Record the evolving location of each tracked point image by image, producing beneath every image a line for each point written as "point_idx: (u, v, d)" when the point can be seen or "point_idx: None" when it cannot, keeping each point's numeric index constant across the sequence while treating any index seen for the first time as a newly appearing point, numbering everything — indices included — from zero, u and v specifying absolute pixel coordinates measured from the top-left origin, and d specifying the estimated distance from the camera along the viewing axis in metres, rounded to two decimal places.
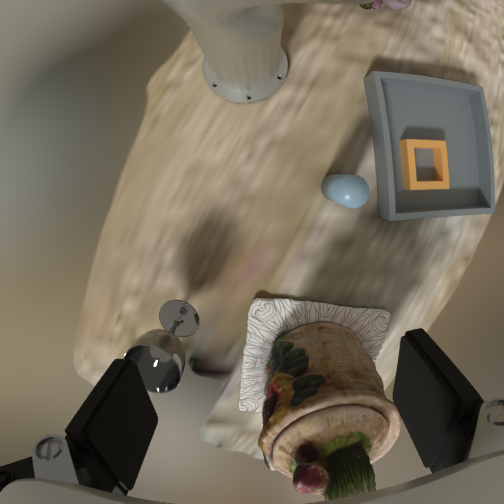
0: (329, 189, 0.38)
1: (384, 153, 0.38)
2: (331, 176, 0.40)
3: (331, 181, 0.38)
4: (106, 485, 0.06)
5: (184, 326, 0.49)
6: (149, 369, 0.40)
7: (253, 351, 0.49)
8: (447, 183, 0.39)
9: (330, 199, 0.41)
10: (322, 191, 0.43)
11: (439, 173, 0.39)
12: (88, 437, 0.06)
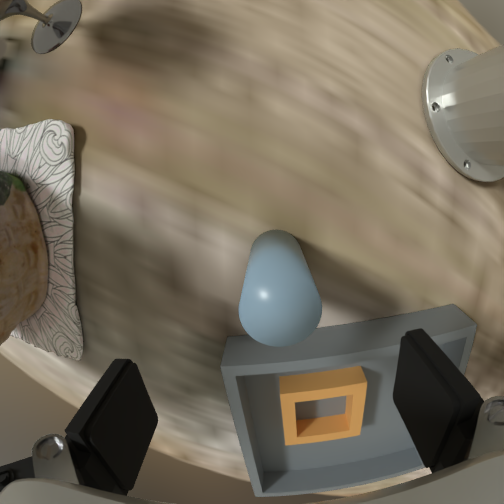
0: (276, 248, 0.18)
1: (346, 351, 0.21)
2: (300, 250, 0.20)
3: (294, 252, 0.18)
4: (106, 485, 0.06)
5: (43, 33, 0.18)
6: None
7: (4, 143, 0.21)
8: (293, 442, 0.25)
9: (253, 249, 0.21)
10: (267, 232, 0.23)
11: (308, 428, 0.26)
12: (88, 437, 0.06)
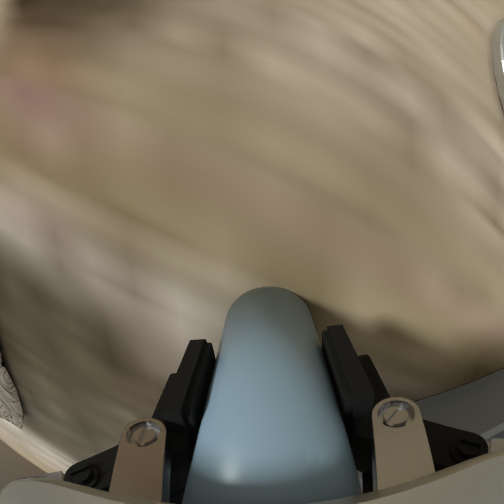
0: (269, 363, 0.08)
1: None
2: (316, 340, 0.10)
3: (308, 369, 0.08)
4: None
5: None
6: None
7: None
8: None
9: (225, 334, 0.11)
10: (253, 293, 0.13)
11: None
12: (186, 415, 0.07)
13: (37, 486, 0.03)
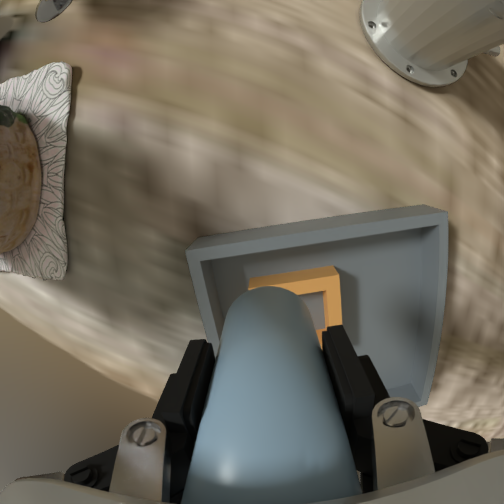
0: (268, 362, 0.08)
1: (308, 230, 0.23)
2: (316, 339, 0.10)
3: (307, 369, 0.08)
4: None
5: (46, 6, 0.20)
6: None
7: (11, 89, 0.22)
8: None
9: (224, 333, 0.11)
10: (252, 292, 0.13)
11: None
12: (186, 415, 0.07)
13: (37, 486, 0.03)
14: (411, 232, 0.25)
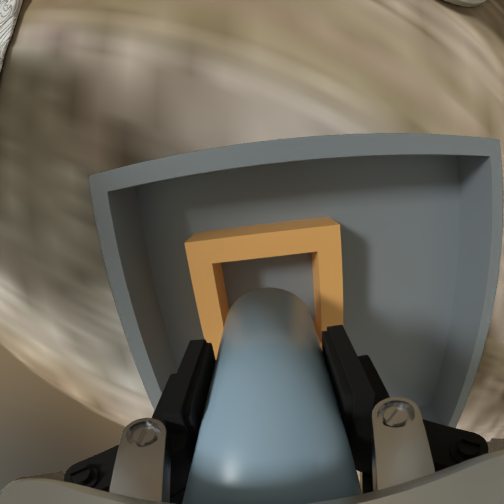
0: (269, 364, 0.08)
1: (286, 139, 0.13)
2: (316, 341, 0.10)
3: (308, 371, 0.08)
4: None
5: None
6: None
7: None
8: None
9: (225, 335, 0.11)
10: (253, 294, 0.13)
11: None
12: (186, 415, 0.07)
13: (37, 486, 0.03)
14: (445, 176, 0.15)
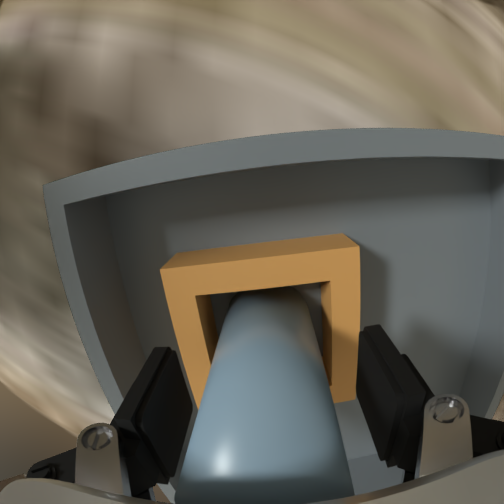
0: (264, 347, 0.08)
1: None
2: (311, 330, 0.11)
3: (301, 354, 0.08)
4: (152, 473, 0.06)
5: None
6: None
7: None
8: None
9: (225, 324, 0.12)
10: None
11: None
12: (139, 423, 0.06)
13: (37, 486, 0.03)
14: (476, 183, 0.12)
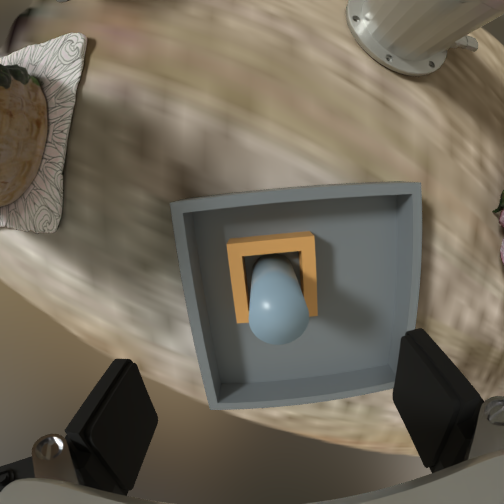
0: (275, 270, 0.23)
1: (285, 189, 0.24)
2: (293, 271, 0.26)
3: (288, 274, 0.23)
4: (106, 485, 0.06)
5: None
6: None
7: (27, 55, 0.23)
8: (245, 319, 0.28)
9: (255, 269, 0.26)
10: (266, 255, 0.28)
11: None
12: (88, 437, 0.06)
13: (37, 486, 0.03)
14: (387, 205, 0.27)
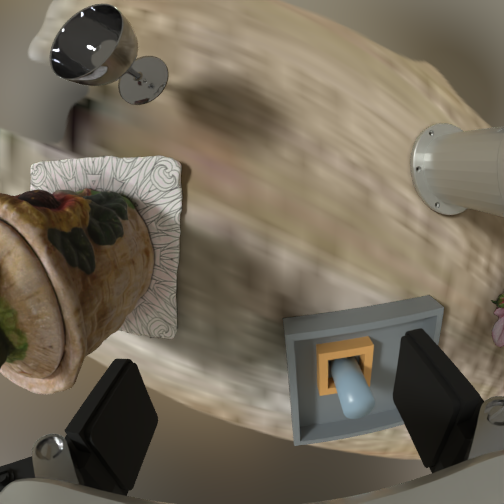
0: (353, 374, 0.34)
1: (361, 322, 0.35)
2: (359, 367, 0.37)
3: (360, 375, 0.34)
4: (106, 485, 0.06)
5: (133, 86, 0.32)
6: (81, 42, 0.21)
7: (108, 168, 0.34)
8: (325, 393, 0.39)
9: (335, 367, 0.37)
10: None
11: None
12: (88, 437, 0.06)
13: (37, 486, 0.03)
14: None
